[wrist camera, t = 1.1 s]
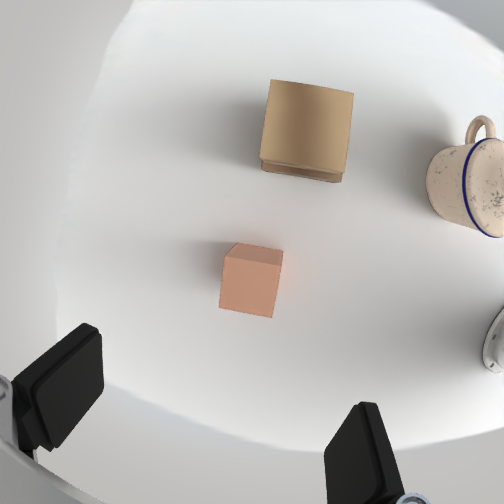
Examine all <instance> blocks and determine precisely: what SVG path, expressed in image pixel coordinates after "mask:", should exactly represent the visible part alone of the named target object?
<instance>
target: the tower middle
mask: <svg viewBox="0 0 504 504" xmlns="http://www.w3.org/2000/svg"><path fill="white" fill-rule="evenodd" d="M353 95H354V93H350V92H345V91H341V90H336V89H331V88H326V87H320V86H315V85H309V84H302V83H296V82H288V81H280V80H272V79H271V82H270V88H269V95H268V101H267V108H266V114H265V121H264V128H263V134H262V141H261V148H260V154H259V158H260V159H261V160H262V161H264V162H265V163H269V164H275V165H282V166H288V167H294V168H300V169H306V170H312V171H317V172H323V173H328V174H333V175H335V174H339V173H343V172H344V170H345V163H346V156H347V149H348V141H349V133H350V124H351V115H352V106H353Z"/></svg>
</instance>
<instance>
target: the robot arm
mask: <svg viewBox="0 0 504 504" xmlns="http://www.w3.org/2000/svg"><path fill="white" fill-rule="evenodd" d="M483 361H484V364H485V366H486V367H487V368H488V369H489V370H490V371H491V372H494V373H500V372H503V371H504V309H503V310H502V311H501V312H500V313H499V315H498V316H497V318H496V319H495V321H494V322H493V324H492V326H491V328H490V330H489V332H488V334H487V337H486V340H485V343H484V348H483ZM103 389H104V377H103V360H102V336H101V334H100V333H99V331H98V329H97V328H95V327H93V326H91V325H89V324H87V323H82V324H81V325H79V326H78V327H77V328H76V329H74V330H73V331H72V332H70V333H69V334H68V335H67V336H65V337H64V338H63V339H62V340H60V341H59V342H58V343H56V344H55V345H54V346H53V347H52V348H50V349H49V350H48V351H47V352H45V353H44V354H43V355H41V356H40V357H39V358H38V359H37V360H36V361H34V362H33V363H32V364H30V365H29V366H28V367H27V368H26V369H24V370H23V371H22V372H21V373H20V374H18V375H17V376H16V377H15V378H14V380H13V381H11V382H10V381H9V380H8V379H7V378H6V377H4V376H2V375H0V504H107V503H105V502H103V501H101V500H99V499H97V498H95V497H93V496H91V495H90V494H88V493H86V492H84V491H82V490H80V489H78V488H76V487H75V486H73V485H72V484H70V483H68V482H66V481H65V480H63V479H61V478H60V477H58V476H57V475H55V474H54V473H52V472H50V471H49V470H47V469H46V468H44V467H43V466H41V465H40V464H38V460H37V453H36V449H37V448H38V447H39V445H40V446H42V447H43V448H45V449H46V450H48V451H49V452H51V451H52V450H53V448H54V447H55V448H58V447H59V446H60V445H61V444H62V443H63V441H64V440H65V439H66V437H67V436H68V435H69V434H70V433H71V431H72V430H73V429H74V427H75V426H76V425H77V424H78V422H79V421H80V420H81V419H82V417H83V416H84V415H85V414H86V412H87V411H88V410H89V408H90V407H91V406H92V405H93V404H94V402H95V401H96V400H97V399H98V397H99V396H100V395H101V394H102V392H103ZM324 463H325V475H326V488H327V504H430V502H429V501H428V500H427V499H426V498H425V497H424V496H422V495H420V494H417V493H409V494H405V492H404V488H403V484H402V481H401V477H400V474H399V471H398V467H397V464H396V460H395V457H394V454H393V451H392V447H391V444H390V441H389V439H388V436H387V433H386V430H385V427H384V424H383V421H382V418H381V415H380V412H379V409H378V406H377V404H376V403H371V402H360V403H359V404H358V405H354V406H353V408H352V409H351V411H350V413H349V414H348V416H347V417H346V419H345V420H344V422H343V424H342V425H341V427H340V428H339V430H338V431H337V433H336V434H335V436H334V437H333V439H332V440H331V441H330V443H329V444H328V446H327V447H326V449H325V452H324Z"/></svg>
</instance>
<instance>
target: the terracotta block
mask: <svg viewBox="0 0 504 504" xmlns="http://www.w3.org/2000/svg"><path fill="white" fill-rule="evenodd" d="M282 258H283V251H282V250H276V249H270V248H264V247H258V246H252V245H246V244H240V243H236V245H235V246H234V247H233V248H232V249H231V250H230V251H229V252H228V253H227V254H226V255H225V258H224V266H223V274H222V283H221V292H220V300H219V308H223V309H228V310H233V311H238V312H243V313H248V314H254V315H259V316H265V317H270V318H272V315H273V310H274V304H275V299H276V294H277V288H278V283H279V277H280V272H281V266H282Z"/></svg>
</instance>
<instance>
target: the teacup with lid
mask: <svg viewBox="0 0 504 504" xmlns="http://www.w3.org/2000/svg"><path fill="white" fill-rule="evenodd" d="M482 125H485V128H486V138H485V139H482V140H480V141H478V142H477V143H475V137H476V134H477V132H478V130H479V128H480V127H481V126H482ZM426 187H427V193H428V197H429V200H430V202H431V204H432V206H433V208H434V209H435V211H436V212H437V213H438V214H439V215H440V216H441V217H442V218H444V219H445V220H447V221H449V222H452V223H456V224H459V225H463V226H466V227H469V228H473V229H476V230H479V231H481V232H482V233H483V234H485V235H487V236H489V237H494V238H499V237H504V142H503V141H501V140H499V139H496V130H495V126H494V124H493V122H492V121H491V119H489V118H488V117H486V116H482V115H481V116H477V117H476V118H474V119H473V120H472V122H471V123H470V125H469V127H468V129H467V132H466V138H465V145H461V146H455V147H450V148H446V149H443V150H442V151H440V152H438V153H437V154H436V155H435V156H434V158H433V159H432V161H431V163H430V165H429V168H428V171H427V177H426Z"/></svg>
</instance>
